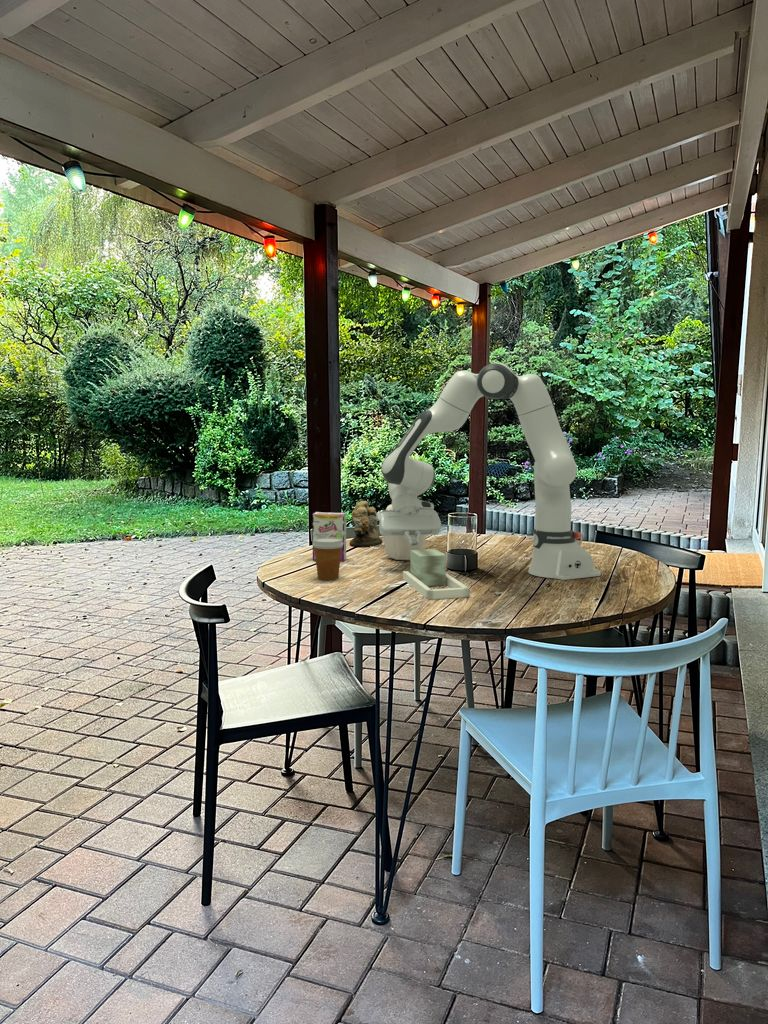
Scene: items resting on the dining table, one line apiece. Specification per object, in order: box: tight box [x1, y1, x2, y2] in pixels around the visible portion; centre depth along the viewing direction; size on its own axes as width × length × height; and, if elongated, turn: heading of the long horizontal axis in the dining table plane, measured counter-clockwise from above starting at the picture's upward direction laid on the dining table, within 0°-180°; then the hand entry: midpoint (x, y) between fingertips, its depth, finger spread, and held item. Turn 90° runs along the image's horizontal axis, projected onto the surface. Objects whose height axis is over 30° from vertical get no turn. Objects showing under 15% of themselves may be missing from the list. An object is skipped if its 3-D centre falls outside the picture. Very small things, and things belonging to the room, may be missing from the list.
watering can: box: [383, 503, 428, 561], centre depth 253 cm, size 16×27×19 cm, turn 169°
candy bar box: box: [312, 511, 347, 562], centre depth 248 cm, size 11×5×16 cm, turn 84°
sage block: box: [409, 548, 447, 587], centre depth 215 cm, size 8×10×9 cm
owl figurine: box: [349, 500, 383, 548], centre depth 279 cm, size 18×12×17 cm, turn 162°
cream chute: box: [402, 570, 471, 600], centre depth 209 cm, size 12×26×2 cm, turn 14°
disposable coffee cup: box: [312, 537, 344, 581], centre depth 221 cm, size 10×10×12 cm
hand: (414, 544), depth 228 cm, fingers closed
